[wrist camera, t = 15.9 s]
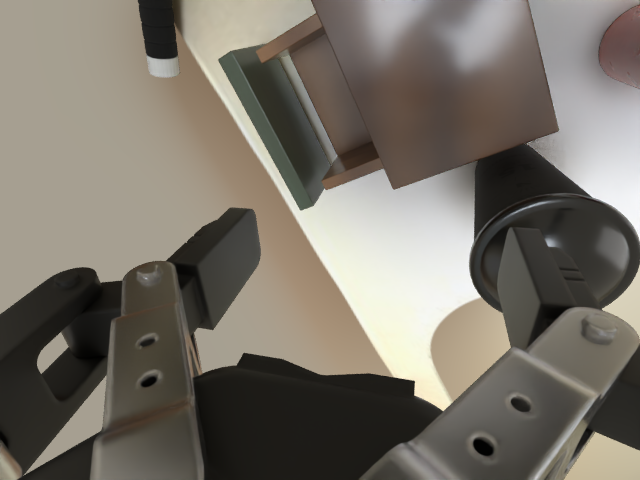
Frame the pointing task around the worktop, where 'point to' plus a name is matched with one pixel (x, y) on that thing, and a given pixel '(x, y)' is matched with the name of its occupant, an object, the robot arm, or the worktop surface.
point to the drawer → (289, 118)
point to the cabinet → (440, 79)
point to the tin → (622, 48)
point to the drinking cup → (548, 224)
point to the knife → (159, 37)
